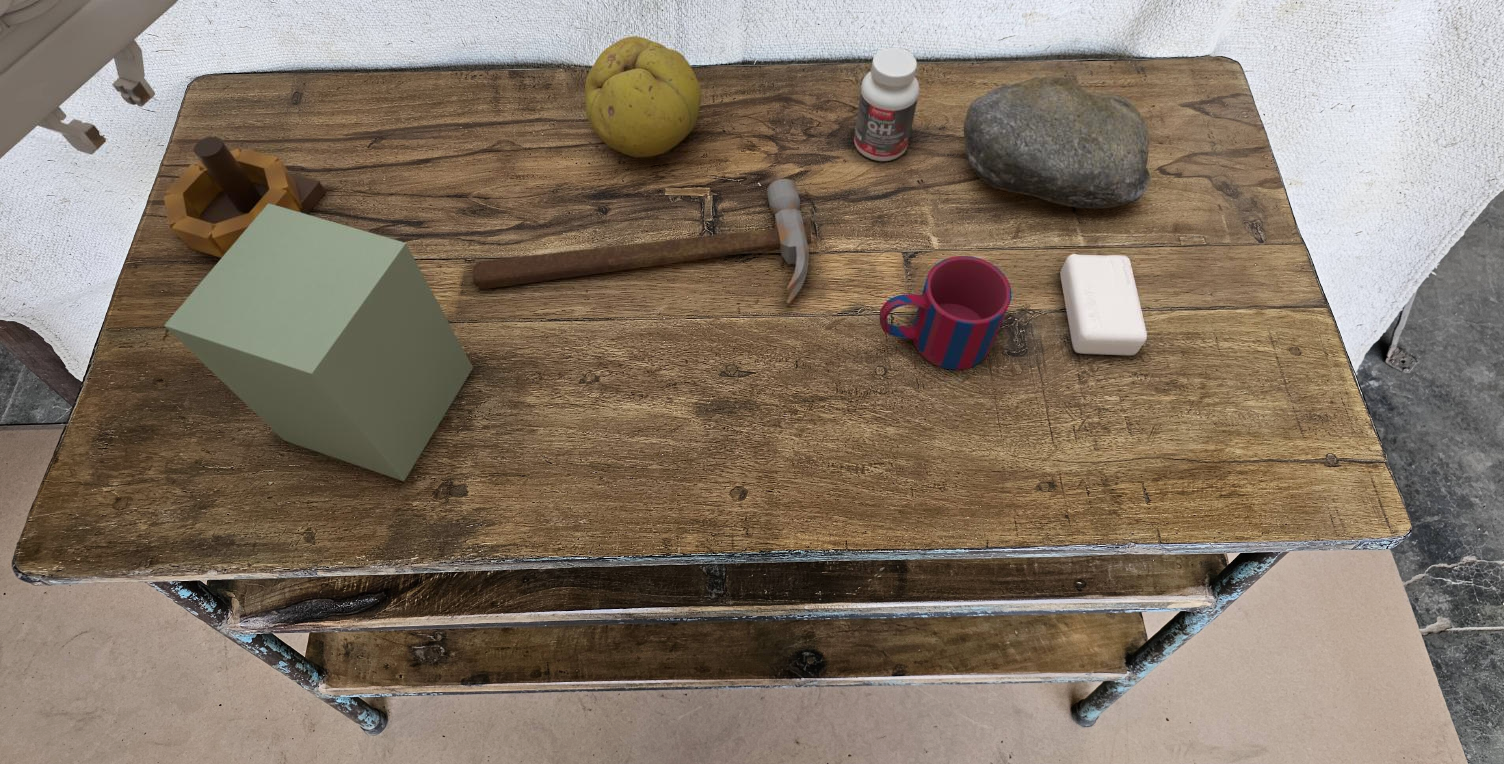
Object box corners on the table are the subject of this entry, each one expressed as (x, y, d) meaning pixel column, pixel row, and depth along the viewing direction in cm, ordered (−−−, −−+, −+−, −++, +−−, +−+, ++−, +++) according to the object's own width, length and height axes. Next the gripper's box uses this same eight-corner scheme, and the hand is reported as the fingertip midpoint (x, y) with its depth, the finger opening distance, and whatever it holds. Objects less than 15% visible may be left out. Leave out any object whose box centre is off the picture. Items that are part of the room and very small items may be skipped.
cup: (996, 370, 71) (1017, 323, 65) (876, 370, 71) (886, 323, 65) (985, 305, 74) (1004, 255, 68) (870, 305, 74) (880, 255, 68)
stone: (1098, 138, 87) (1147, 54, 79) (1138, 233, 80) (1197, 151, 72) (941, 131, 85) (975, 43, 77) (969, 227, 78) (1010, 142, 69)
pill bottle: (861, 167, 83) (873, 85, 74) (847, 129, 85) (857, 46, 77) (915, 159, 83) (932, 76, 75) (899, 121, 86) (914, 38, 78)
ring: (255, 268, 75) (238, 247, 72) (159, 239, 76) (140, 218, 74) (321, 187, 80) (308, 165, 77) (230, 161, 81) (214, 139, 79)
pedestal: (404, 481, 66) (311, 373, 52) (283, 440, 68) (163, 325, 54) (473, 367, 71) (406, 242, 57) (359, 332, 73) (268, 202, 59)
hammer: (471, 216, 77) (799, 176, 78) (481, 237, 79) (799, 198, 81) (467, 330, 70) (824, 284, 72) (477, 348, 73) (823, 303, 74)
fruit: (701, 96, 88) (696, 11, 79) (707, 180, 82) (701, 97, 73) (594, 102, 88) (576, 17, 79) (591, 187, 82) (572, 104, 73)
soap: (1137, 358, 71) (1151, 338, 69) (1071, 356, 71) (1083, 336, 69) (1118, 274, 76) (1131, 252, 73) (1056, 271, 76) (1067, 250, 73)
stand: (269, 262, 77) (218, 196, 70) (187, 237, 79) (128, 170, 71) (326, 192, 81) (284, 123, 74) (247, 169, 83) (198, 100, 76)
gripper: (57, -144, 58) (173, 31, 70) (-205, 35, 48) (-18, 205, 60) (133, -128, 57) (238, 48, 69) (-119, 59, 47) (54, 227, 59)
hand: (117, 122), depth 65 cm, fingers open, 4 cm apart
